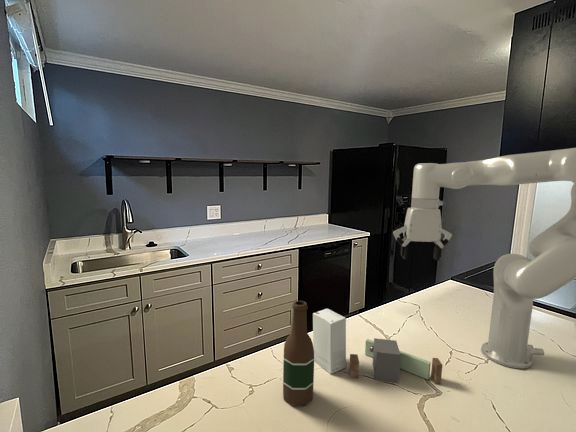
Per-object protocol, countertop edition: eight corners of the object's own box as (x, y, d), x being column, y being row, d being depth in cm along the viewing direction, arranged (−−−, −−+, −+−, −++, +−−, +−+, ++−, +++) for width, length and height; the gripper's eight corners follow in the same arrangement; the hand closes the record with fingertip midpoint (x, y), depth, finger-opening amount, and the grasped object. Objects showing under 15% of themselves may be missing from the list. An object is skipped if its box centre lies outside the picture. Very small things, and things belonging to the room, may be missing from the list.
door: (429, 377, 83) (430, 361, 83) (427, 381, 82) (428, 365, 81) (366, 352, 94) (367, 338, 94) (363, 355, 93) (364, 341, 92)
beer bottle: (289, 412, 70) (291, 312, 67) (277, 390, 78) (278, 298, 74) (319, 402, 74) (322, 306, 70) (304, 382, 81) (307, 294, 77)
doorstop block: (394, 366, 88) (396, 340, 87) (398, 383, 81) (400, 354, 80) (372, 364, 89) (374, 338, 88) (374, 379, 82) (376, 352, 81)
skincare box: (346, 368, 87) (348, 318, 85) (329, 375, 84) (332, 323, 82) (326, 353, 94) (328, 307, 92) (310, 359, 91) (312, 311, 88)
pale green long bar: (436, 376, 84) (437, 358, 83) (440, 384, 81) (442, 364, 80) (349, 370, 86) (350, 352, 85) (350, 377, 83) (351, 358, 82)
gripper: (448, 203, 97) (444, 256, 99) (392, 202, 98) (388, 254, 101) (459, 206, 90) (454, 263, 92) (398, 204, 91) (394, 261, 93)
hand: (420, 258), depth 96 cm, fingers open, 9 cm apart
